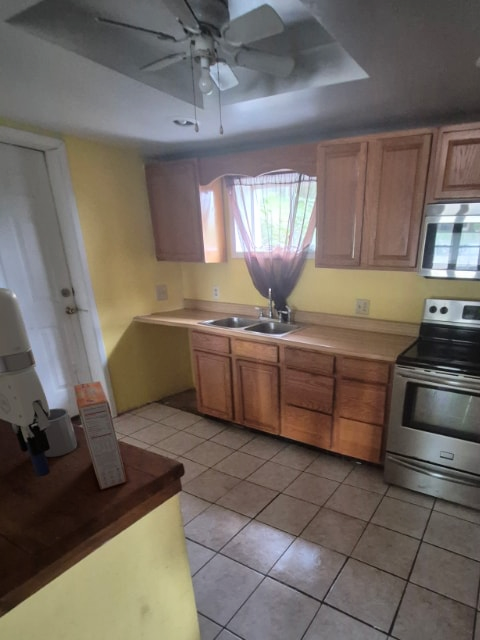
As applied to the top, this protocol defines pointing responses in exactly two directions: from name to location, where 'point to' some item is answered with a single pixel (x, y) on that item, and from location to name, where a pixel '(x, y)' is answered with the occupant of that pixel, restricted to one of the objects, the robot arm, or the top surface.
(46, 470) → the marker
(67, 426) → the pen pot
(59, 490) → the top surface
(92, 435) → the cracker box
